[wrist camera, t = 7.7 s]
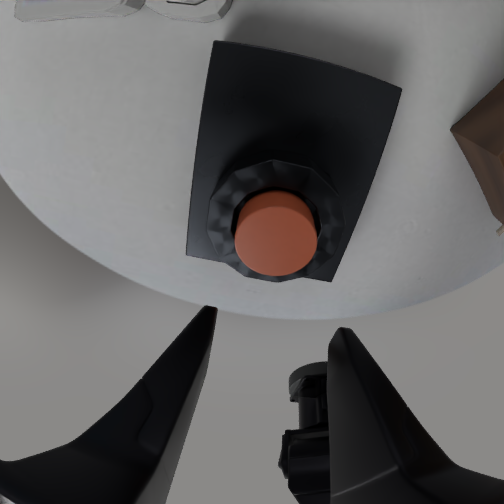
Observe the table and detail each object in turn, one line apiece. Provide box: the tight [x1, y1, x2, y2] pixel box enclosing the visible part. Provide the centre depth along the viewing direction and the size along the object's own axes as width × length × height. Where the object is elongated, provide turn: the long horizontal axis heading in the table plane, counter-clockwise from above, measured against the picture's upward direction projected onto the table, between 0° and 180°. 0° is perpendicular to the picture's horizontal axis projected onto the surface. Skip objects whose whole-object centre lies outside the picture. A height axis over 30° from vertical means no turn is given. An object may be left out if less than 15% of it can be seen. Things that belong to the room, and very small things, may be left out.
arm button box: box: [186, 40, 402, 282], centre depth 15 cm, size 12×9×4 cm
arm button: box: [235, 190, 317, 276], centre depth 14 cm, size 4×4×2 cm
